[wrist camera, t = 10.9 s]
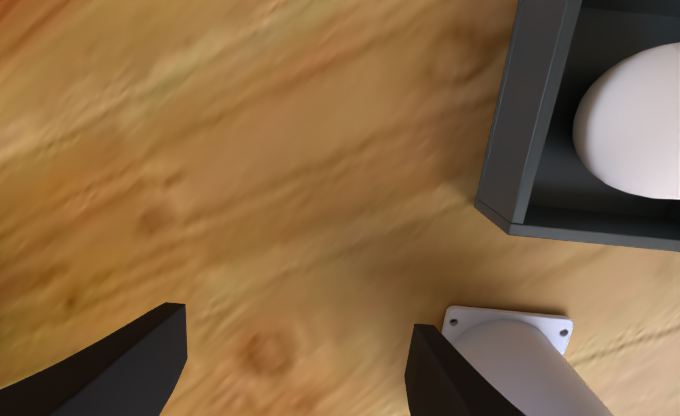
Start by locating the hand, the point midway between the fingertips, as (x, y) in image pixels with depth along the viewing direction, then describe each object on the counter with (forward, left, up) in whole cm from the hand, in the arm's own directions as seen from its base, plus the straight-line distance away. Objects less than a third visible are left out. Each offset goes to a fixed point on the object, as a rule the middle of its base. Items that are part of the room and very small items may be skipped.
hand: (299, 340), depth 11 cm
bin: (+8, -14, -10) cm, 19 cm away
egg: (+8, -14, -10) cm, 19 cm away
